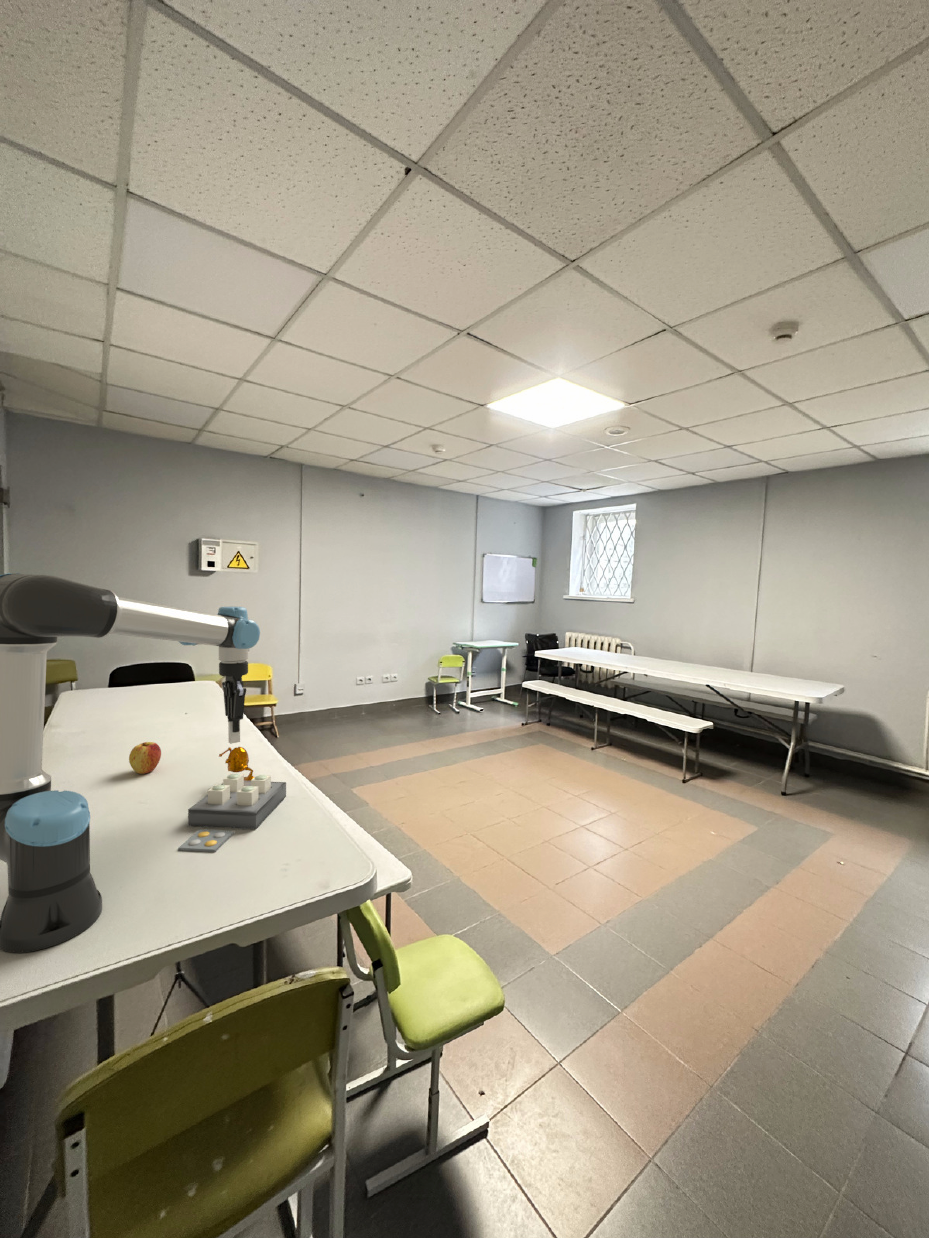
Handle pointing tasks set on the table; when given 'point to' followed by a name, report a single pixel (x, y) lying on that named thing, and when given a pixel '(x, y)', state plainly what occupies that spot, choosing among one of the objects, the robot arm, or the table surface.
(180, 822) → the table surface
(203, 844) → the card
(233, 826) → the button box
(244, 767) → the figurine
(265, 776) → the button far right
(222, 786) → the button near left
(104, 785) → the table surface
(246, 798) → the button near right
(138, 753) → the apple
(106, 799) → the table surface
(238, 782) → the button far left
